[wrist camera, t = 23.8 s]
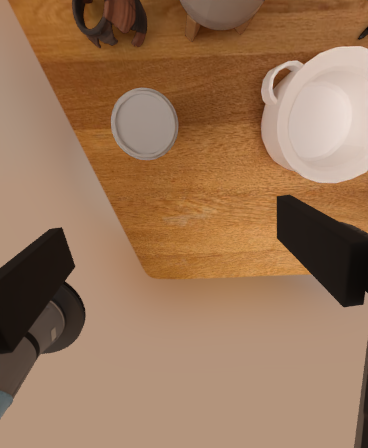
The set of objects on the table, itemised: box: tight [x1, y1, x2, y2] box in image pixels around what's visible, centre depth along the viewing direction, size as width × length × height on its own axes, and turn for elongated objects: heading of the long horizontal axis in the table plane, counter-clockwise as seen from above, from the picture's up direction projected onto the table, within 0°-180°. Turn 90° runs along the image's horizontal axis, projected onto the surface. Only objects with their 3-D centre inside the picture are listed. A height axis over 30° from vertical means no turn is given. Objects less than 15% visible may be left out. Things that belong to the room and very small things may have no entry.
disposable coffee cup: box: [111, 88, 178, 160], centre depth 40 cm, size 10×10×12 cm
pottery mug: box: [72, 0, 147, 48], centre depth 37 cm, size 12×10×8 cm
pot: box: [261, 46, 368, 183], centre depth 40 cm, size 22×17×12 cm
